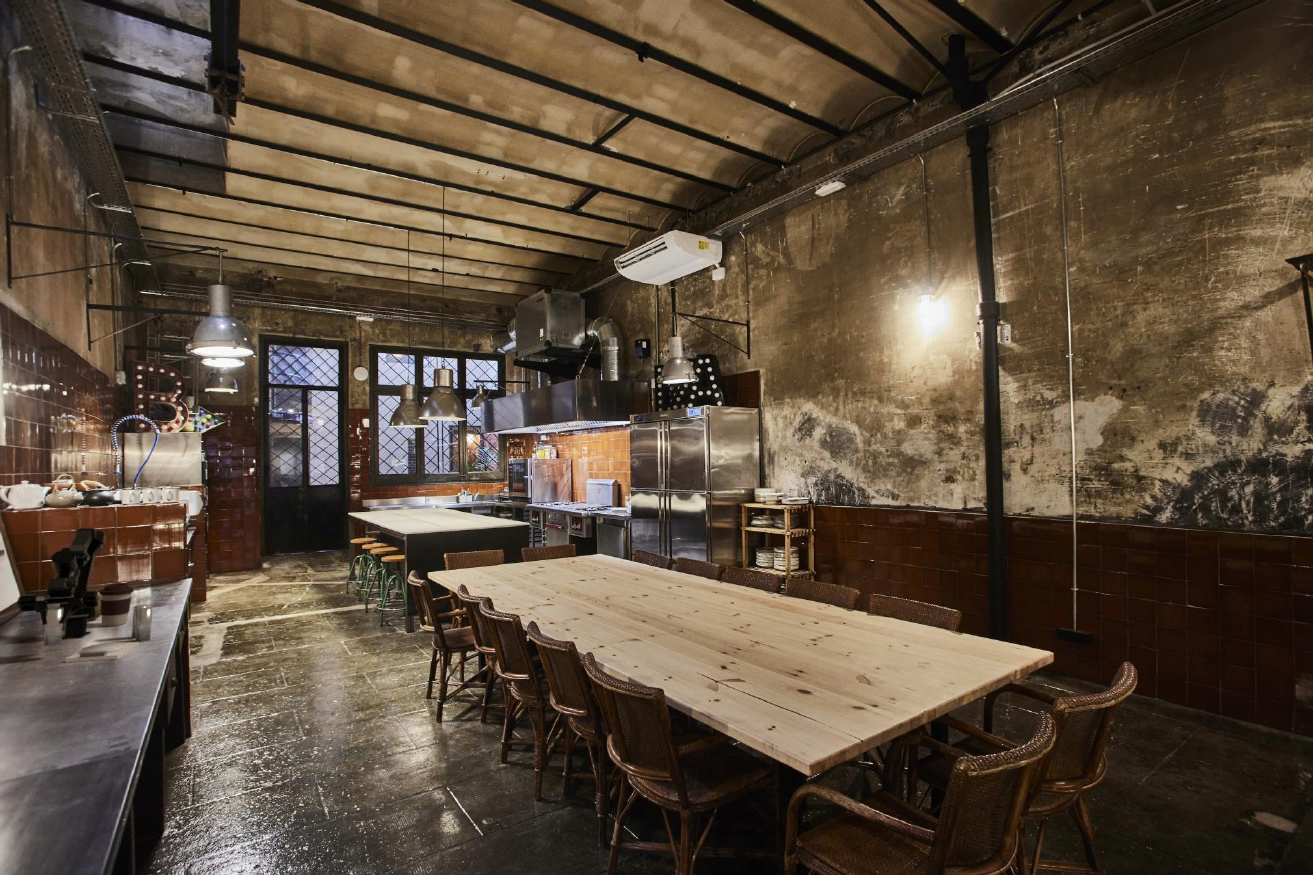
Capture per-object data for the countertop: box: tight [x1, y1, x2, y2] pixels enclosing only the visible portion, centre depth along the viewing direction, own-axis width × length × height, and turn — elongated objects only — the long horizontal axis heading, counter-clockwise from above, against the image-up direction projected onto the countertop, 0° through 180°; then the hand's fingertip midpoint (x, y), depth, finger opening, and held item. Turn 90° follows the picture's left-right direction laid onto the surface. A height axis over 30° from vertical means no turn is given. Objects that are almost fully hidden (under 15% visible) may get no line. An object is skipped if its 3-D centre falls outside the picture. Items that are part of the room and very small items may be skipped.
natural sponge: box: [87, 594, 102, 621], centre depth 241 cm, size 9×9×10 cm
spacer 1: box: [43, 606, 64, 647], centre depth 196 cm, size 4×4×11 cm
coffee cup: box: [98, 583, 135, 627], centre depth 237 cm, size 10×10×15 cm
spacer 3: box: [135, 606, 153, 643], centre depth 217 cm, size 4×4×11 cm
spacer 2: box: [131, 604, 149, 640], centre depth 220 cm, size 4×4×11 cm
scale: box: [64, 641, 141, 663], centre depth 201 cm, size 16×13×2 cm
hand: (52, 623), depth 195 cm, fingers closed on spacer 1, 4 cm apart
